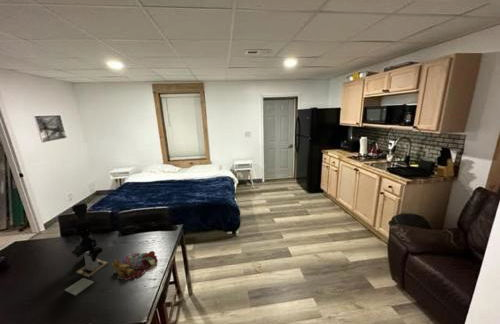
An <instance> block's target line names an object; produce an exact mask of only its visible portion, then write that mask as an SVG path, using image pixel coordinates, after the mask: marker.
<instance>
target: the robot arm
mask: <svg viewBox="0 0 500 324" xmlns="http://www.w3.org/2000/svg"><path fill="white" fill-rule="evenodd" d="M71 209H72V213H74V215H76V217H77V220H76V222H75V223H76V225H75V229H76V230H75V231H76V235H77V237H79V239H80V242H79V244H77V245H76V246H75V248H74V249H73V250H72V251H71V254H72V255H73V257H76V258H80V256H82V257H83V258H84V253H86V252H87V251H88V252H89V251H90V252H89V255H88V256H91V258H92V260H93V262H95V261H96V258H97V259H98V255H99V254H101V253H102V252H104V251H103V248H102V247H98V245H97V240H96V239H95V238H94V237H93V236H92V233H93V230H94V227H93V226H94V225H93V222H91V221H90V220H89V218H87V217H86V214H87V211H88V210H87V209H89V207H88V203H85V202H83V203H78V204H74V205H73V206H71Z"/></svg>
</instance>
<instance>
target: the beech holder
mask: <svg viewBox="0 0 500 324" xmlns="http://www.w3.org/2000/svg"><path fill="white" fill-rule="evenodd" d="M97 260H98V264H102V265H99V267H98V268H96V269H95V270H94V271H90V273H88V272H86V271H84V270H87V269H86V265H84V266H82V267H81V268H78V269H77V270H76V274H78V275H82V276H84V277H87V278H90V277H91V276H93V275H94V274H95V273H97V272H99V271H100V270H102V269H103V268H105V267H106V266H108V265H109V262H108V261H104V260H101V259H99V258H97Z"/></svg>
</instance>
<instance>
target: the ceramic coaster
mask: <svg viewBox="0 0 500 324" xmlns="http://www.w3.org/2000/svg"><path fill="white" fill-rule="evenodd" d="M94 283H95V282H94V281H93V280H90V279H87V278H85V277H83V278H81V279H79V280H78V281H76V282H75V283H73V284H72V285H70V286H69V287H66V288H65V289H64V292H67V293H69V294H71V295H73V296H77V295H79V293H82V292H83V291H84V290H85V289H87V288H88V287H90V286H91V285H93V284H94Z"/></svg>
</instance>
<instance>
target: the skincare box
mask: <svg viewBox="0 0 500 324" xmlns="http://www.w3.org/2000/svg"><path fill="white" fill-rule="evenodd" d="M89 252H90V251H89ZM89 252H88V251H87V252H86V253H84V255H83V256H84V257H83V258H84V263H85V266H86V269H85V270H88V271H90V272H92V271H94V270H95V269H97V268H99V267H100V265H99V263H98V260H97V259H98V257H97V258H96V261H95V262H93V260H92V258H91V256H88V255H89Z"/></svg>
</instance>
